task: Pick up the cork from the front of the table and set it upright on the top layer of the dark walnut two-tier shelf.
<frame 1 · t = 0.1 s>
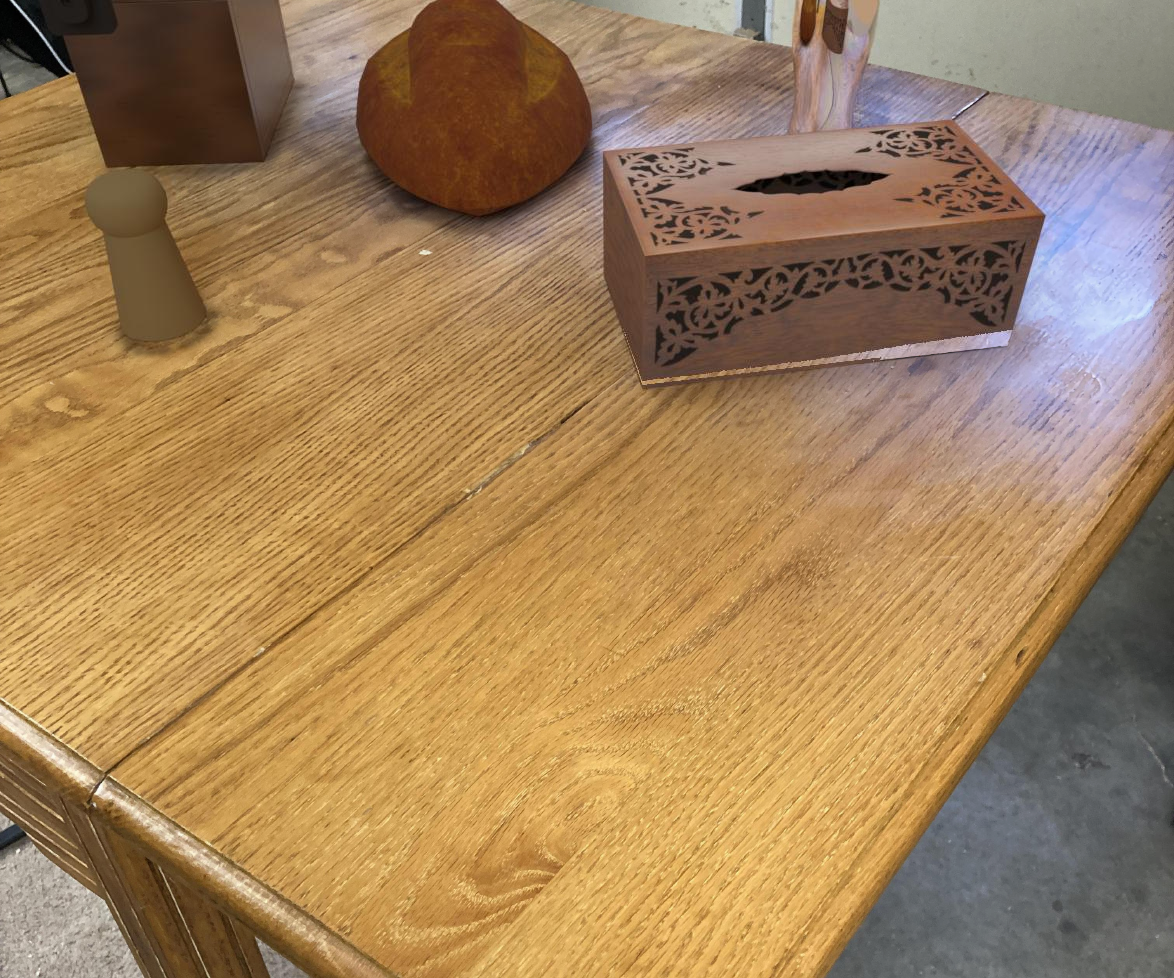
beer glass: (818, 143, 101), on the table
bread: (477, 145, 102), on the table
cork: (164, 320, 82), on the table
shelf: (206, 120, 106), on the table
tissue box cover: (795, 311, 81), on the table
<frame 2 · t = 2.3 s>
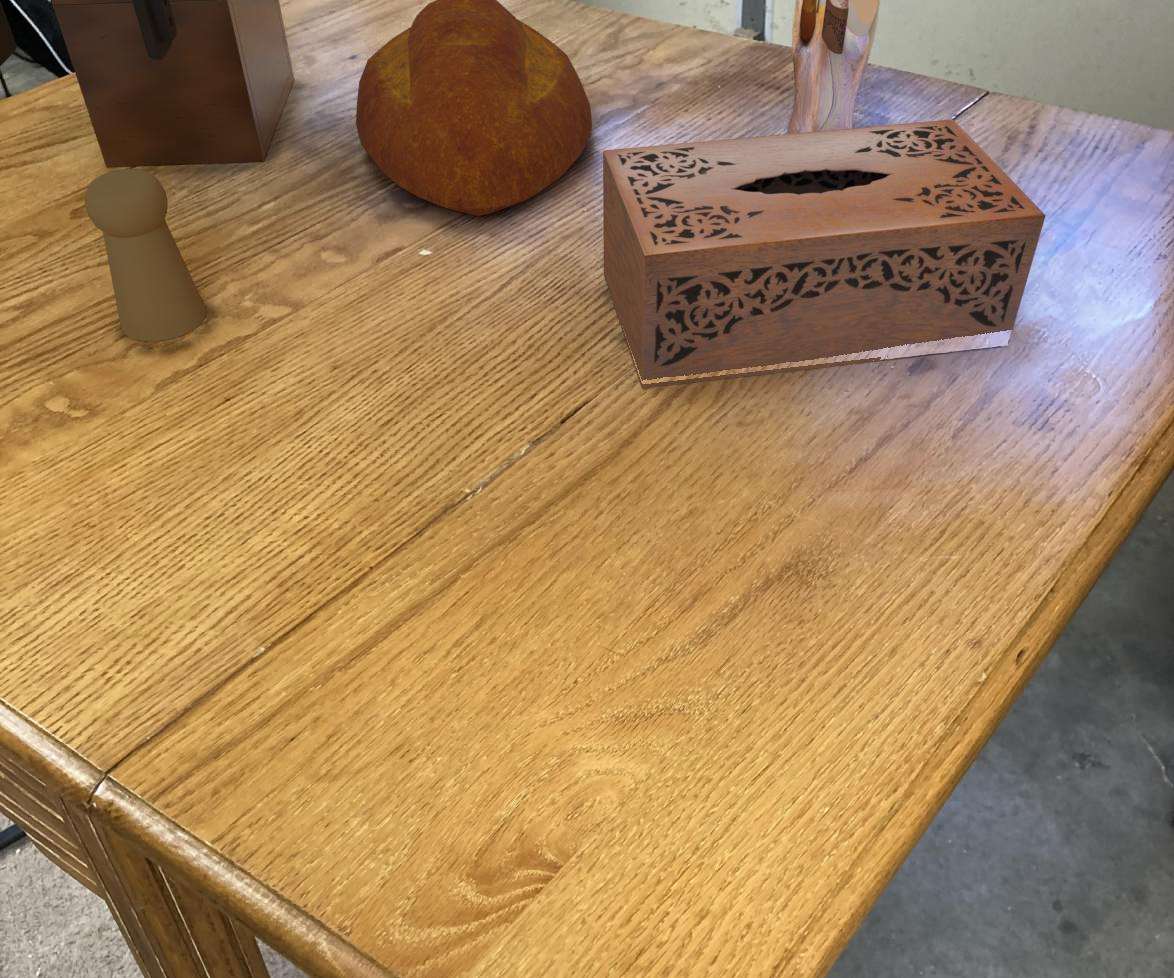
hand: (82, 55, 68), 19 cm above the table, tool pointing down, fingers open, 9 cm apart
nothing on the table moved.
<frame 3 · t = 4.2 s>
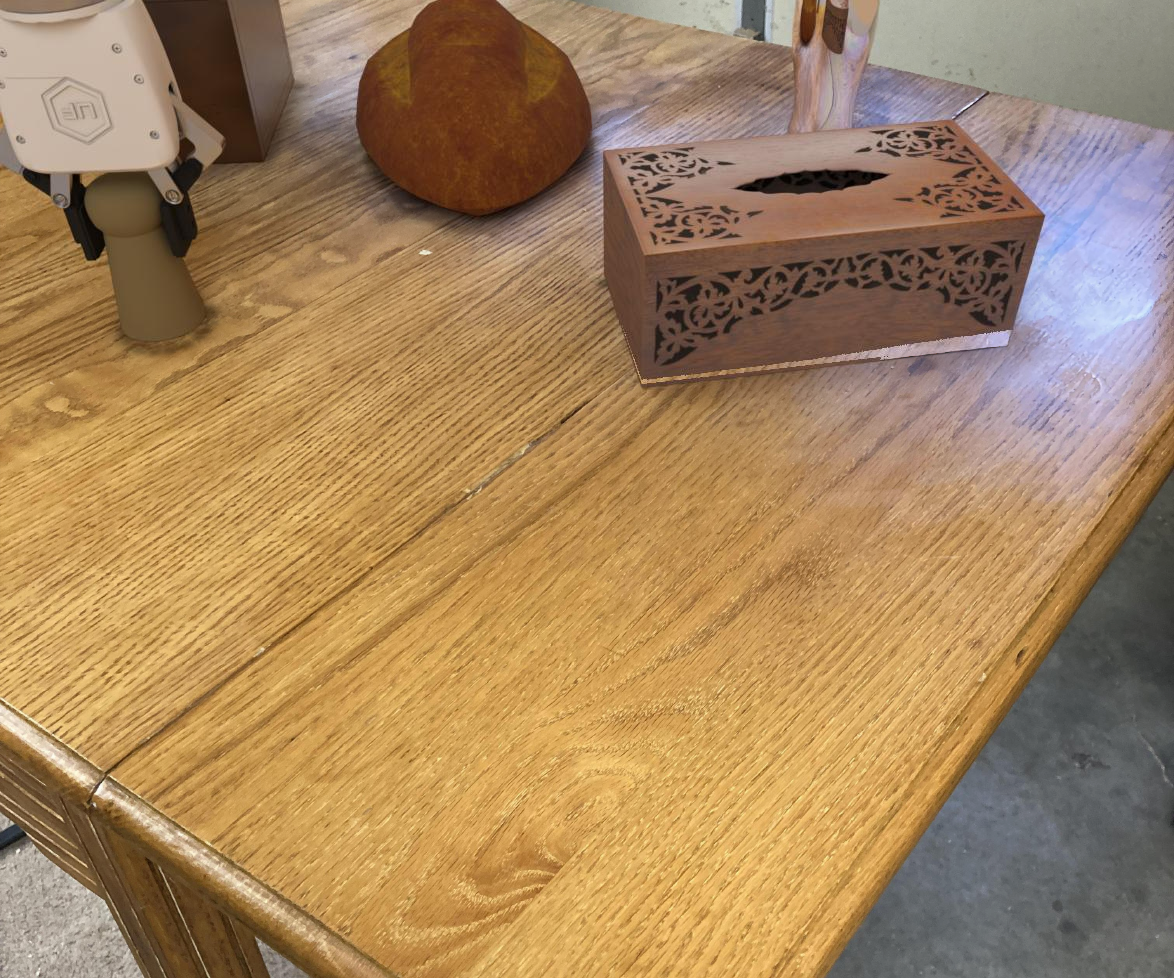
hand: (141, 247, 77), 6 cm above the table, tool pointing down, fingers closed on cork, 5 cm apart
cork: (164, 320, 82), on the table, touching gripper
everything else where it was.
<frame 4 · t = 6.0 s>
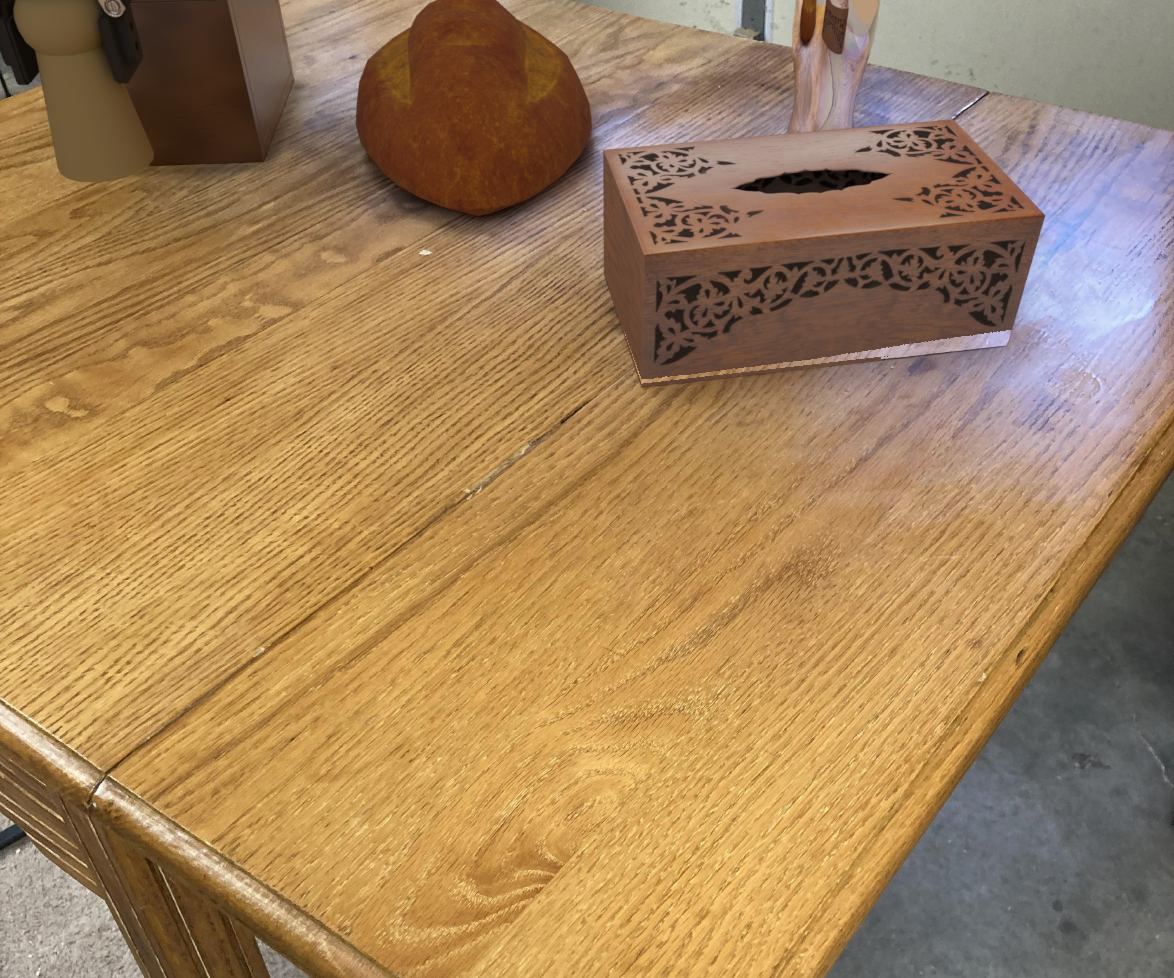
hand: (79, 72, 69), 18 cm above the table, tool pointing down, fingers closed on cork, 5 cm apart
cork: (107, 163, 74), point 12 cm above the table, touching gripper
everything else where it was.
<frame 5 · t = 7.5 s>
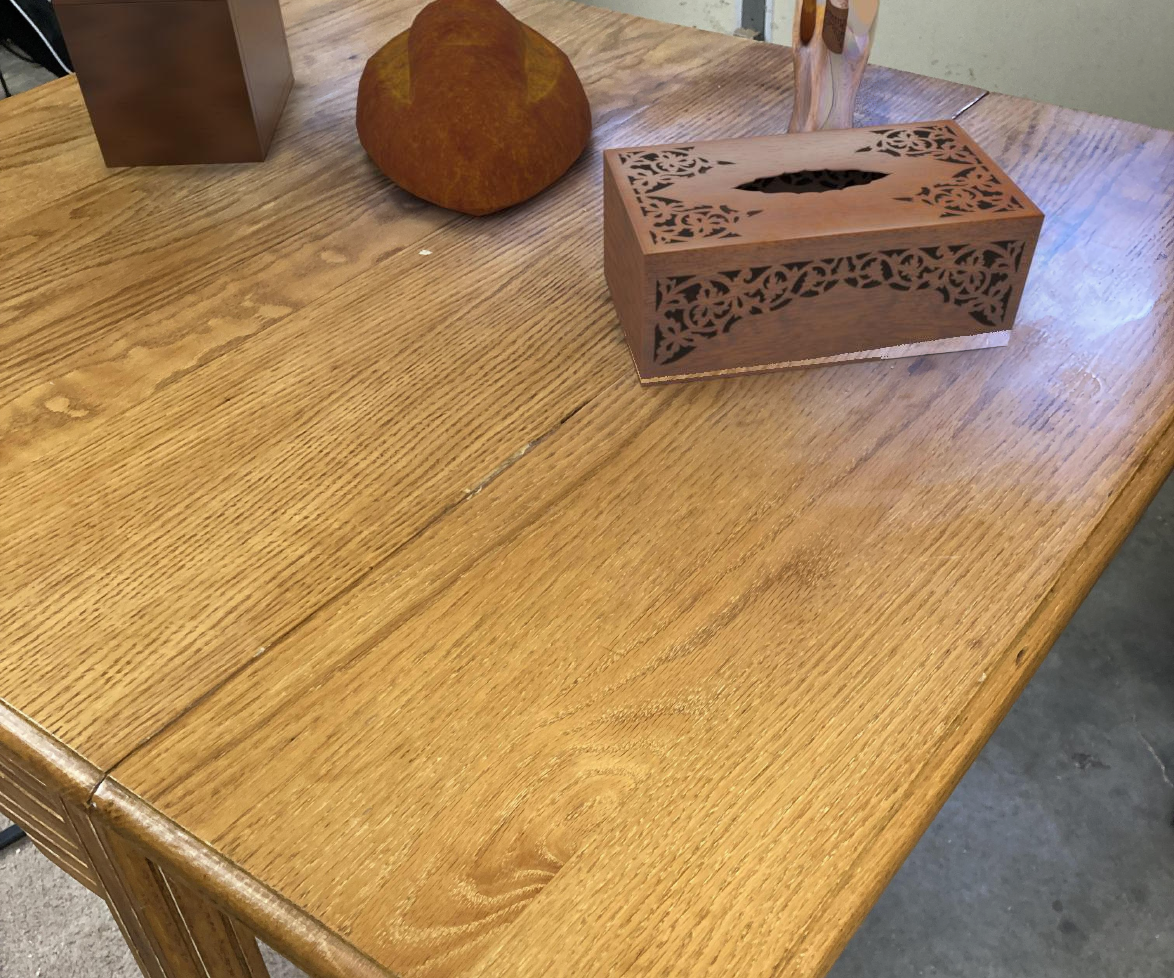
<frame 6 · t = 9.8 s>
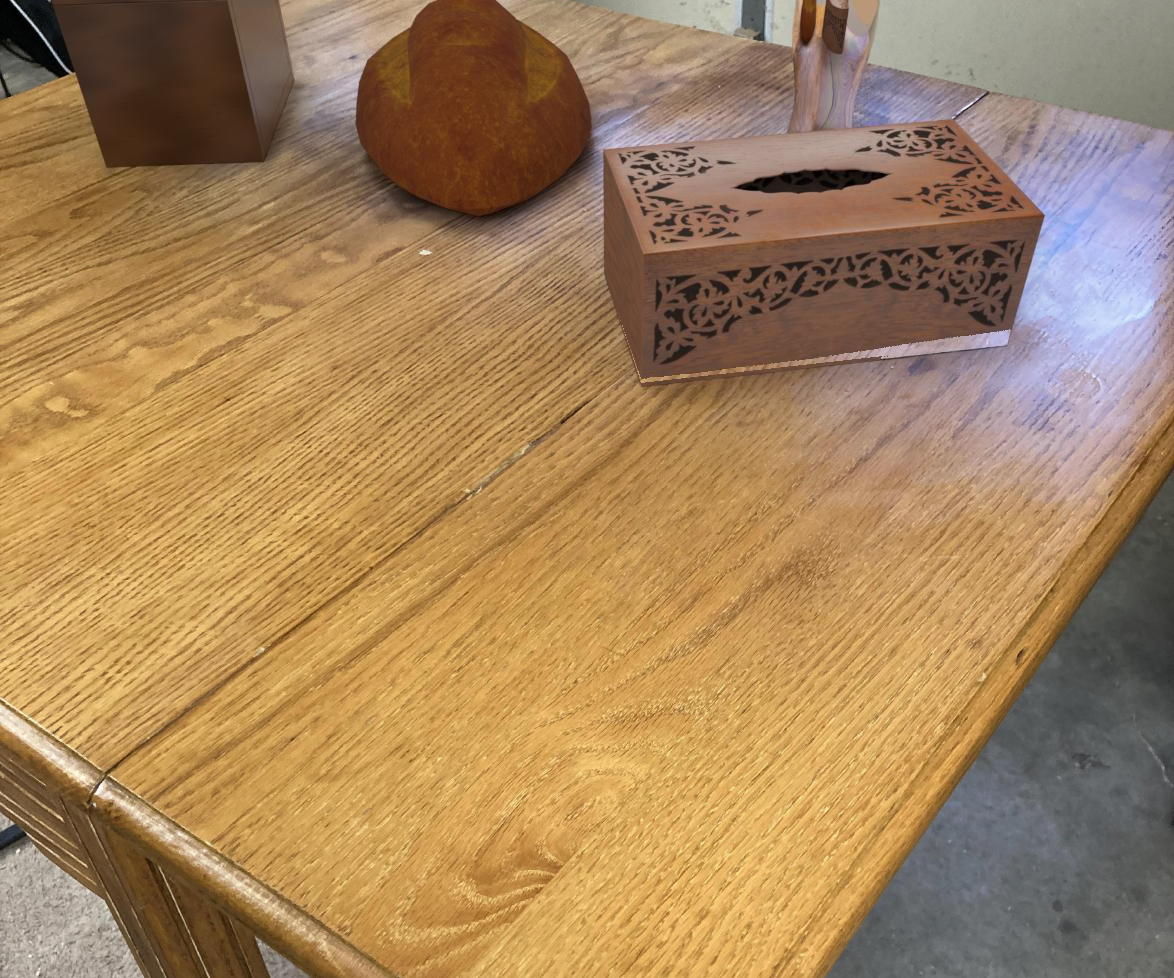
when the fingers open (21 cm above the table, at t = 11.1 s): cork stays where it is, resting on shelf.
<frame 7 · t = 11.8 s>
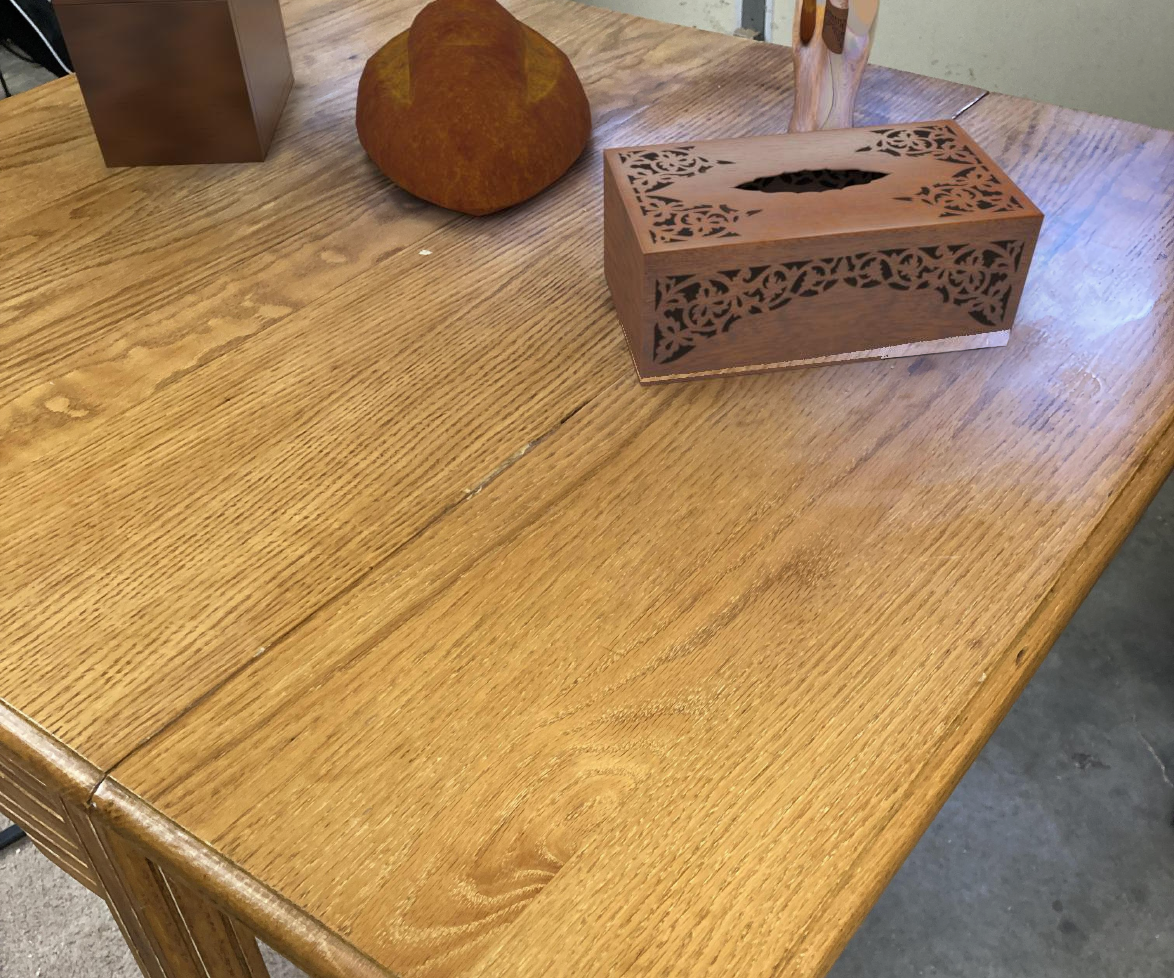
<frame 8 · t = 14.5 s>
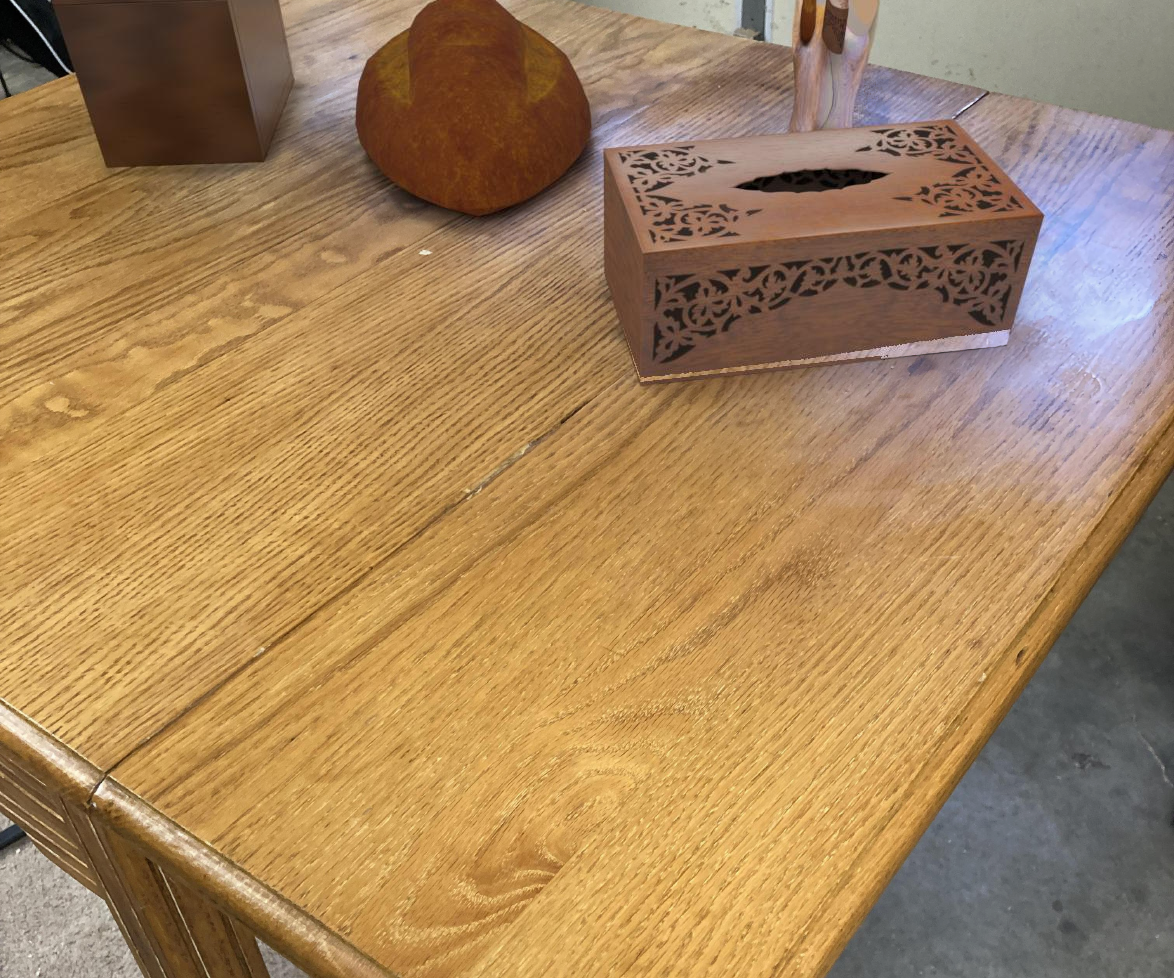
at the end: cork inside the target area on the shelf (0.1 cm from its centre), point 15.4 cm above the shelf's base; cork tilted 0° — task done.
